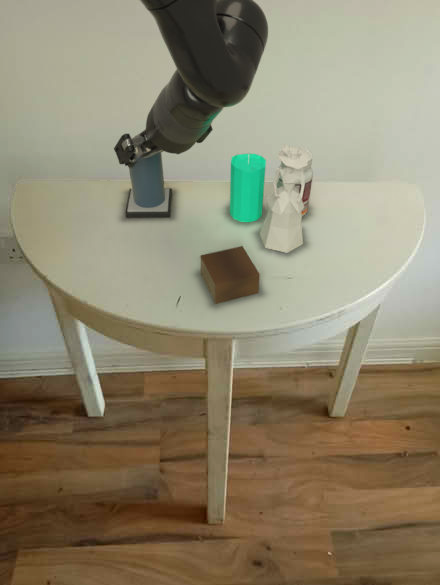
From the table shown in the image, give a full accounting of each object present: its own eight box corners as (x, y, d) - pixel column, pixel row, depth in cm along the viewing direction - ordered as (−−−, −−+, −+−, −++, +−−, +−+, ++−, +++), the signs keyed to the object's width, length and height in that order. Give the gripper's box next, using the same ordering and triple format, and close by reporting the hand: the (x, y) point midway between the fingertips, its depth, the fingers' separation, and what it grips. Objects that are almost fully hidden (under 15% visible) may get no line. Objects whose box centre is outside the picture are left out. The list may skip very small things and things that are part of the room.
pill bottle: (299, 198, 95) (306, 143, 87) (312, 216, 91) (322, 160, 83) (268, 203, 94) (273, 148, 86) (281, 222, 90) (287, 166, 82)
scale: (125, 218, 90) (124, 211, 89) (130, 193, 96) (129, 186, 95) (170, 217, 90) (169, 211, 90) (172, 192, 96) (171, 186, 95)
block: (215, 304, 75) (215, 285, 72) (200, 274, 80) (200, 255, 77) (258, 293, 77) (260, 274, 74) (241, 264, 82) (242, 245, 79)
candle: (224, 217, 90) (225, 158, 82) (236, 200, 94) (238, 141, 86) (256, 225, 89) (260, 165, 80) (266, 207, 93) (271, 148, 84)
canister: (137, 210, 90) (130, 155, 82) (130, 193, 93) (122, 138, 86) (169, 204, 91) (164, 149, 83) (160, 187, 95) (155, 133, 87)
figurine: (269, 256, 83) (278, 159, 70) (255, 227, 89) (261, 132, 76) (309, 249, 84) (325, 153, 71) (293, 221, 90) (305, 127, 77)
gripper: (217, 77, 69) (183, 122, 84) (120, 99, 64) (102, 143, 79) (236, 130, 69) (199, 165, 85) (141, 155, 64) (120, 188, 79)
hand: (152, 154), depth 82 cm, fingers open, 8 cm apart
